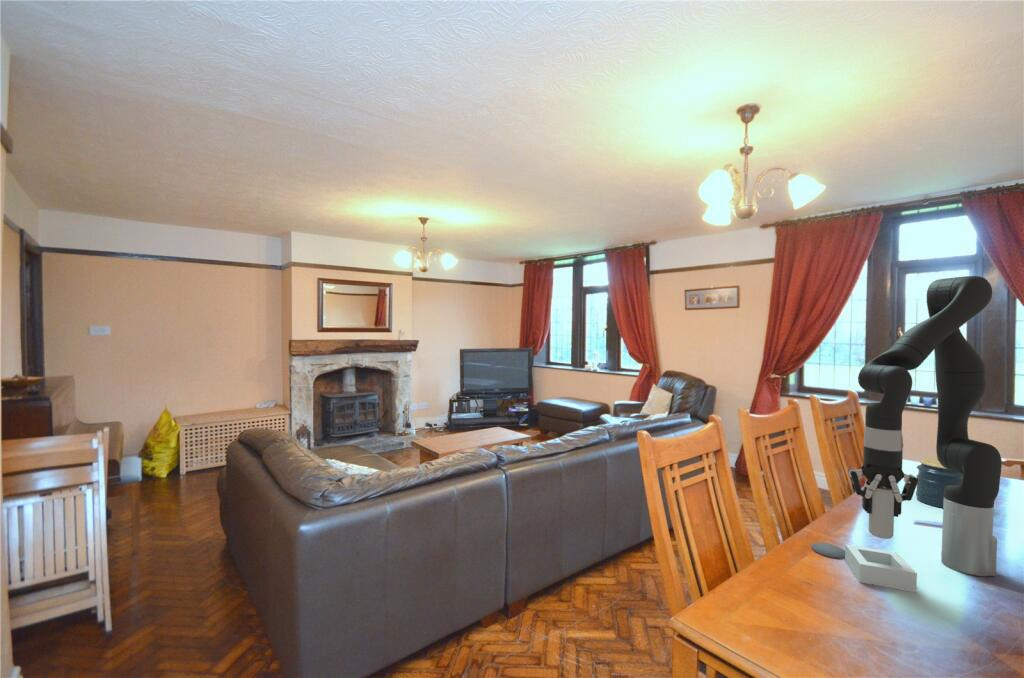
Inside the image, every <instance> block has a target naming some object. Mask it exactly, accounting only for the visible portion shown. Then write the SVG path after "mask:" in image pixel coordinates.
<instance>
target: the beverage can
mask: <svg viewBox="0 0 1024 678" xmlns="http://www.w3.org/2000/svg"><path fill="white" fill-rule="evenodd" d="M870 498H871V499H872V507H871V514H869V513H868V532H869V533H870V534H871V535H872V536H874V537H876V538H879V539H883V540H884V539H886V540H889V539H890V540H891V539H892V538H893V537H894V532H895V531H894V529H895V517H894V492H893V490H891V489H890V488H886V487H876V489H875V491H874V492H873V493H872V495H871V497H870Z"/></svg>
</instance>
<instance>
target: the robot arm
mask: <svg viewBox="0 0 1024 678" xmlns="http://www.w3.org/2000/svg"><path fill="white" fill-rule="evenodd" d="M992 298H993V288H992V285H991V283H990V281H989V280H988V279H986V278H985V277H983V276H978V275H967V276H954V277H949V278H940V279H936V280H933V281H932V282H931V283H930V284H929V285H928V288H927V291H926V306H927V312H928V317H929V318H927V319H924V320H923V321H921V322H920V323H917V324H916V325H914V326H912V327H911V328H909V329H907V330H906V331H905V332H904V333H903V334H902V335H901V336H900V337H899V338H898V339H897V340H896V341H895V342H894V343H893V344H892V345H891V347H890V348H889V349H888V350H886V351H884V352H882V353H880V354H879V355H878V356H876V357H875V358H873V359H871V360H870V361H869V362H866V363H865V365H863V367H862V368H861V369H860V371H859V372H858V376H857V382H858V385H859V386H860V388H861V389H863V390H864V391H866V392H870V393H874V394H875V393H876V394H883V396H882V398H881V401H880V402H870V403H868V404H867V405H866V407H865V415H864V416H865V421H864V422H865V424H864V425H865V427H864V431H863V432H864V433H863V454H862V455H863V457H862V459H863V463H862V466H861V467H860V469H859V468H858V469H853V468H849V469H848V470H847V473H848V477H849V480H850V483H851V487H852V491H853V492H854V493H855V494H856V495H857V496H860V497H862V499H861V500H862V501H861V507H862V509H863V510H864V511H865V513H866V514H868V515H869V514H871V507H872V499H871V498H870V497H871V495H872V493H873V492H874V491H875V489H876V487H886V488H890V489H891V490H893V492H894V518H898V517H899V516H901V514H902V503H903V502H906V501H908V502H910V501H912V499H913V496H914V494H915V492H916V490H917V483H918V478H917V477H916V475H913V474H907V473H904V471H903V456H904V455H903V453H904V451H903V449H904V438H903V412H904V410H905V407H906V404H907V401H908V398H909V396H910V393H911V392H912V391H911V390H912V389H913V388H912V387H913V378H912V375H911V373H910V372H909V371H911V370H912V371H913V370H916V369H917V368H919V367H920V366H921V365H922V364H923V363H924V361H926V359H927V358H928V357H929V356H930V355H931V354H932V352H933V351H934V369H935V371H934V372H935V383H936V395H937V432H936V446H935V450H936V457H938V460H939V462H940V464H941V465H942V466H943V467H945V468H947V469H949V470H951V471H954V472H958V473H961V474H963V479H962V483H961V485H949V486H946V487H945V488H944V502H943V508H942V510H943V511H942V528H941V529H942V531H941V532H942V533H941V534H942V535H941V552H940V553H941V554H940V555H941V556H940V557H941V563H942V564H943V565H945V566H946V567H948V568H950V569H953V570H955V571H958V572H960V573H964V574H968V575H972V576H978V577H991V576H992V577H997V559H998V558H997V557H998V555H997V554H998V538H997V537H996V536H994V535H993V533H994V512H995V501H996V500H997V497H998V495H999V491H1000V483H1001V482H1000V481H1001V475H1002V468H1003V467H1002V465H1003V464H1002V462H1003V461H1002V456H1001V454H1000V452H999V450H998V449H997V447H995V446H994V445H992V444H989V443H986V442H982V441H977V440H974V439H970V437H969V433H968V431H969V430H968V425H969V423H968V422H969V418H970V416H971V413H972V412H973V410H974V409H975V408H976V406H977V405H978V404H979V402H980V401H981V399H982V398H983V396H984V395H985V392H986V387H987V383H986V380H987V379H986V368H985V363H984V360H983V359H982V358H981V356H980V355H979V353H978V352H977V351H976V349H974V347H973V346H972V344H970V343H969V341H968V340H967V339H966V338H965V336H964V335H963V332H961V329H960V328H961V327H962V326H964V325H965V324H966V323H967V322H969V321H970V320H971V319H973V318H974V317H975V316H977V315H978V314H979V313H981V312H982V311H983V310H984V309H985V308H986V307H987V306H988V305H989V303H990V302H991V300H992ZM862 475H863V476H864V477H865V479H866V480H865V482H864V483H863V485H864V486H863V488H862V487H861V484H860V481H859V479H861V477H862ZM902 480H903V482H904V486H903V488H902V491H900V488H899V486H898V484H899V482H901V481H902Z"/></svg>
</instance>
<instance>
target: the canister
mask: <svg viewBox="0 0 1024 678" xmlns="http://www.w3.org/2000/svg"><path fill="white" fill-rule="evenodd" d="M919 463H921V464H919V465H917V466H916V468H917V470H918V474H916V475H915V477H916V478H918V483H917V486H916V490H915V497H916V500H917V501H919V502H921V503H922V504H926V505H929V506H930V507H931V506H932V507H936V508H941V509H943V502H944V488H945V487H946V486H949V485H961V483H962V479H963V474H961V473H958V472H954V471H951V470H949V469H947V468H945V467H943V466H942V465H941V464H940V462H939V460H938V457H937V456H936V457H925V458H924V459H920V460H919Z"/></svg>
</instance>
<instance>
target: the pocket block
mask: <svg viewBox="0 0 1024 678" xmlns="http://www.w3.org/2000/svg"><path fill="white" fill-rule="evenodd" d="M844 546H845V549H844V550H845V558H844V562H845V564H846V565H847V567H848V568H849V569H850V571H851V572H852V574H853V573H854V574H853V576H856V577H855V578H856V579H857V581H858V583H860V582H861V583H862V584H866V583H867V585H872V584H874V585H873V586H877V585H878V587H883V586H884V588H889V587H890V589H894V588H895V589H894V590H901V591H906V592H911V593H917V585H918V584H917V582H918V581H917V579H918V573H917V572H916V571H915V570H914V569H913V567H912V566H911V565H909V563H907V561H906V560H905V559H904V558H903V557H902V556H901V555H900V554H899V553H898V552H897V551H893V550H892V551H891V550H885V549H879V548H872V547H865V546H858V545H852V544H846V543H845V545H844Z"/></svg>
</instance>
